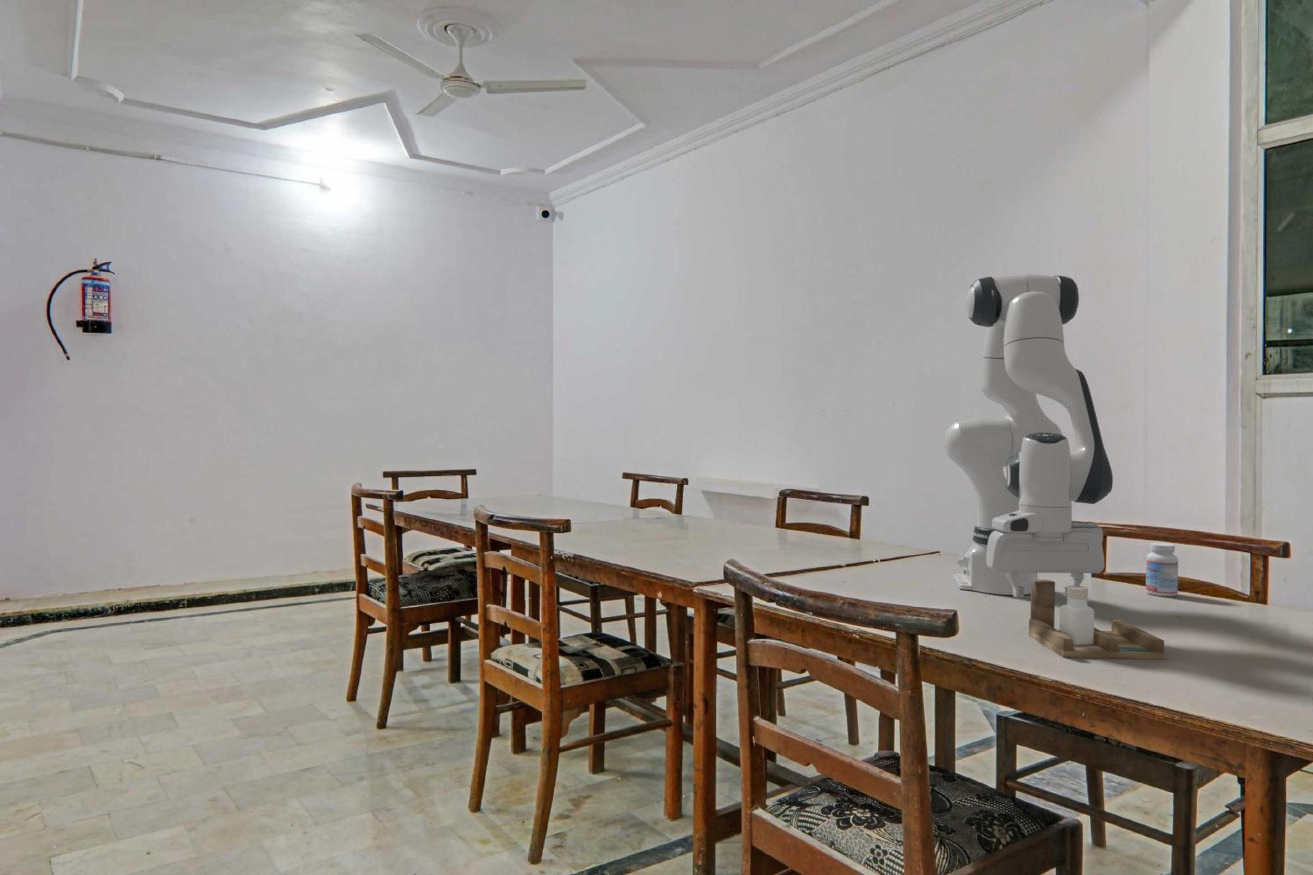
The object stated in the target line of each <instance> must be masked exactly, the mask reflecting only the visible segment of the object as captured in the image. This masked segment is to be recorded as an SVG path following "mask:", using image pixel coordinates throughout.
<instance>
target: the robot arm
mask: <svg viewBox="0 0 1313 875" xmlns="http://www.w3.org/2000/svg"><path fill="white" fill-rule="evenodd" d="M1079 305H1080V294H1079V287H1078V285H1077V283H1076V282H1075V280H1074V279H1073V278H1071V277H1068V276H1065V275H1054V276H1052V275H1044V274H1025V273H1024V274H1022V275H1007V276H1004V275H1003V276H997V277H993V276H987V277H982V278H978V279H976V280H975V281H973V282H972V284H971V285H970V287H969V290H968V292H967V295H966V300H965V308H966V311H967V312H966V313H967V314H968V318H969V320H970V321H971V322H972V323H973V324H974V325H976V326H979V327H985V328H986V330H985V335H984V340H983V347H982V357H981V358H982V359H981V376H980V388H981V392H982V393H983V395H985V397H986V398H988V399H990V400H991V401H993V402H994V403H996V404H998V405H1000V406H1002V408H1003V410H1004V417H1002V418H978V417H977V418H970V419H963V420H960V421H955V422H953V423H952V424H951V425H950V426H949V427H948V429H947V431H946V433H945V435H944V448H945V452H946V454H947V456H948V458H949V459H950V460H951V461H952V462H953V463H955V465H957V466H958V467H960V469H961V470H962V471H964V473H965V474H966V476H967V477H968V479H969V481H970V482H971V484H972V485H971V486H972V487H973V491H974V495H975V496H974V497H975V506H976V507H975V511H976V515H975V516H976V525H975V526H974V529H973V531H972V532H973V533H972V541H973V543H972V544H971V546H970V547H969V548H968V550H967V551H966V553H965V554H964V555H963V557H958V559H957V564H958V568H962V572H959V573H953V575H952V578H953V580H954V582H955V584H956V585H957V587H958V589H960V590H961V589H962V590H966V591H967V590H969V591H975V592H980V593H987V594H994V595H1007V596H1009V595H1010V596H1013V597H1014V598H1024V597H1025V595H1031V580H1035V579H1039V573H1043V574H1046V573H1047V574H1048V573H1049V574H1052V573H1053V574H1054V573H1055V574H1059V573H1060V574H1070V577H1071V578H1072V580H1071V582H1070V584H1069V585H1068V586H1081V584H1082V583H1083V581H1084V574H1100V573H1102V572H1103V570H1104V568H1105V554H1104V550H1103V548H1104V547H1103V541H1104V531H1103V528H1102V527H1101V526H1100V525H1098V524H1096V523H1095V522H1094V521H1093V522H1092V521H1086V522H1083V521H1073V516H1072V515H1073V514H1072V513H1073V512H1072V511H1073V510H1072V509H1073V506H1072V505H1073V504H1072V502H1074V503H1080V504H1089V505H1095V504H1097V503H1098V502H1100V501H1101V500H1103V499H1104V498H1106V497H1107V496H1108V495H1109V494H1110V493H1111V492H1112V490H1113V483H1114V475H1113V470H1112V466H1111V464H1110V460H1109V458H1108V454H1107V452H1106V449H1105V445H1104V442H1103V438H1102V435H1101V434H1102V433H1101V430H1100V426H1099V422H1098V417H1097V413H1096V409H1095V406H1094V405H1095V404H1094V401H1093V397H1092V395H1091V390H1090V387H1089V384H1088V381H1087V379H1086V376H1085V374H1084V373H1083V371H1081V370H1079V369H1078V368H1075V367H1074V366H1073V364H1072V363H1071V361H1070V360H1069V358H1068V356H1067V352H1066V349H1065V337H1064V336H1065V335H1064V325H1066V324H1068V322H1070V321H1071V320H1073V319H1074V317H1075V316H1076V313H1077V311H1078V308H1079ZM1037 395H1040V396H1043V397H1045V398H1048V399H1051V400H1053V401H1055V402H1057V403H1059V404H1060V405H1062V406H1063V407H1064V408H1065V409H1066V411H1067V412H1068V414H1069V417H1070V422H1071V425H1072V429H1073V433H1074V438H1075V441H1076V446H1077V449H1076V450H1072V451H1071V449H1070V444H1069V439H1068V438H1067V437H1066V436H1065V435H1063V432H1062V430H1061V429H1060V427H1059V425H1057V424H1056V423H1055V422H1054V421H1053V420H1052V419H1050V418H1049V417H1048V416H1047V415H1046V413H1044V411H1043V409H1042V407H1041V406H1040V404H1039V401H1038V399H1037ZM1004 468H1006V476H1005V474H1004ZM1064 597H1065V598H1067V586H1064Z"/></svg>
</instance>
